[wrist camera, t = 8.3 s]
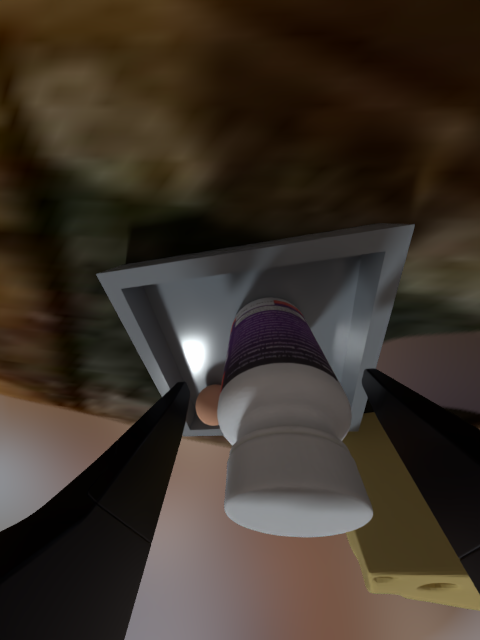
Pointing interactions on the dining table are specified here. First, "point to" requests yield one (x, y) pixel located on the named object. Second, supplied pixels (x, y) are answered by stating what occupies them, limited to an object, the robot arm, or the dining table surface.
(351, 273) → the tray
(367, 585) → the cheese
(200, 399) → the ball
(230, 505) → the pill bottle
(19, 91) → the dining table surface
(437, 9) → the dining table surface
